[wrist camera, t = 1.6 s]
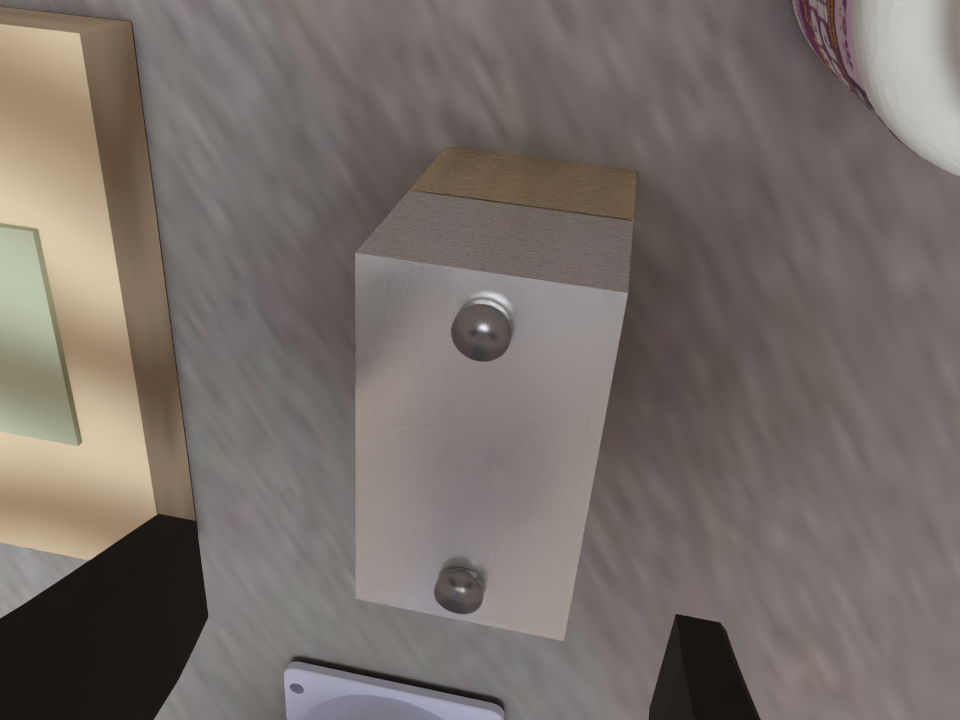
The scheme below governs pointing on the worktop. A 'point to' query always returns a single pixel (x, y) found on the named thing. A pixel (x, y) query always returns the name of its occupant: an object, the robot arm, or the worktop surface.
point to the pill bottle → (896, 65)
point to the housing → (486, 384)
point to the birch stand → (81, 295)
